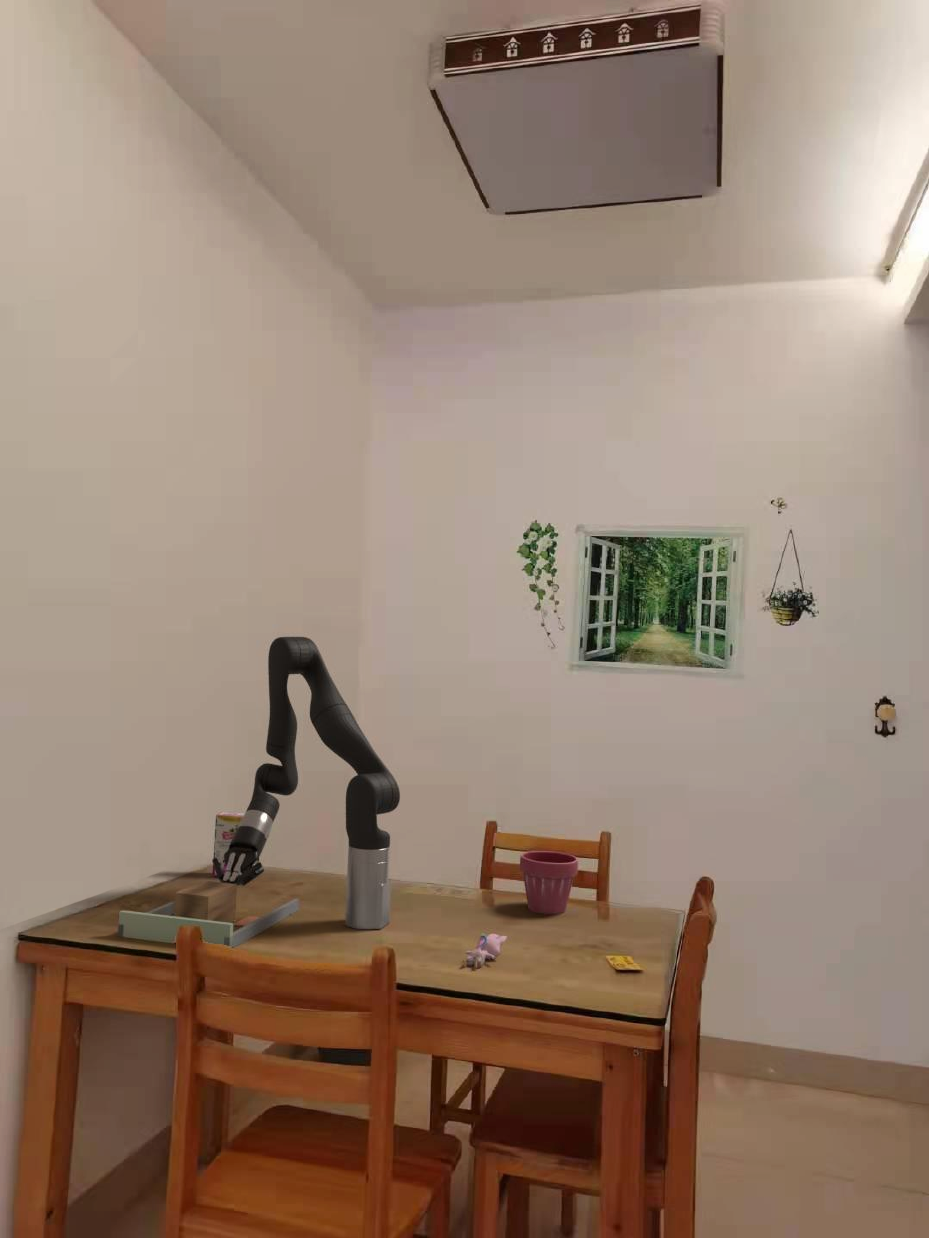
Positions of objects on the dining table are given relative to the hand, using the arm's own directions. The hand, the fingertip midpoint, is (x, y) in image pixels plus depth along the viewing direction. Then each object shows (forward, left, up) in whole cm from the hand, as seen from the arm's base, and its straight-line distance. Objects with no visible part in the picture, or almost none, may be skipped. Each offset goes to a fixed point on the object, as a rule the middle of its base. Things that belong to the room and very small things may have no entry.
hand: (223, 898), depth 209 cm
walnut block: (+1, +7, -4) cm, 8 cm away
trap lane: (0, +4, -4) cm, 6 cm away
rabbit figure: (-62, +7, -5) cm, 62 cm away
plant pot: (-67, -37, -4) cm, 77 cm away
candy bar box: (+17, -38, -4) cm, 41 cm away
